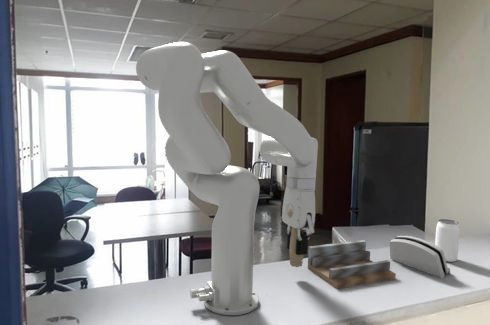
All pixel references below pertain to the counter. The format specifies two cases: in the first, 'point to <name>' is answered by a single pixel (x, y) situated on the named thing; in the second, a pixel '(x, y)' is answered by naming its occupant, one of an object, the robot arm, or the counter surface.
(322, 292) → the counter surface
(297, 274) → the counter surface
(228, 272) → the robot arm
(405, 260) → the grey curved slotted block
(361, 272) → the track
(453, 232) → the can
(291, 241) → the handle
